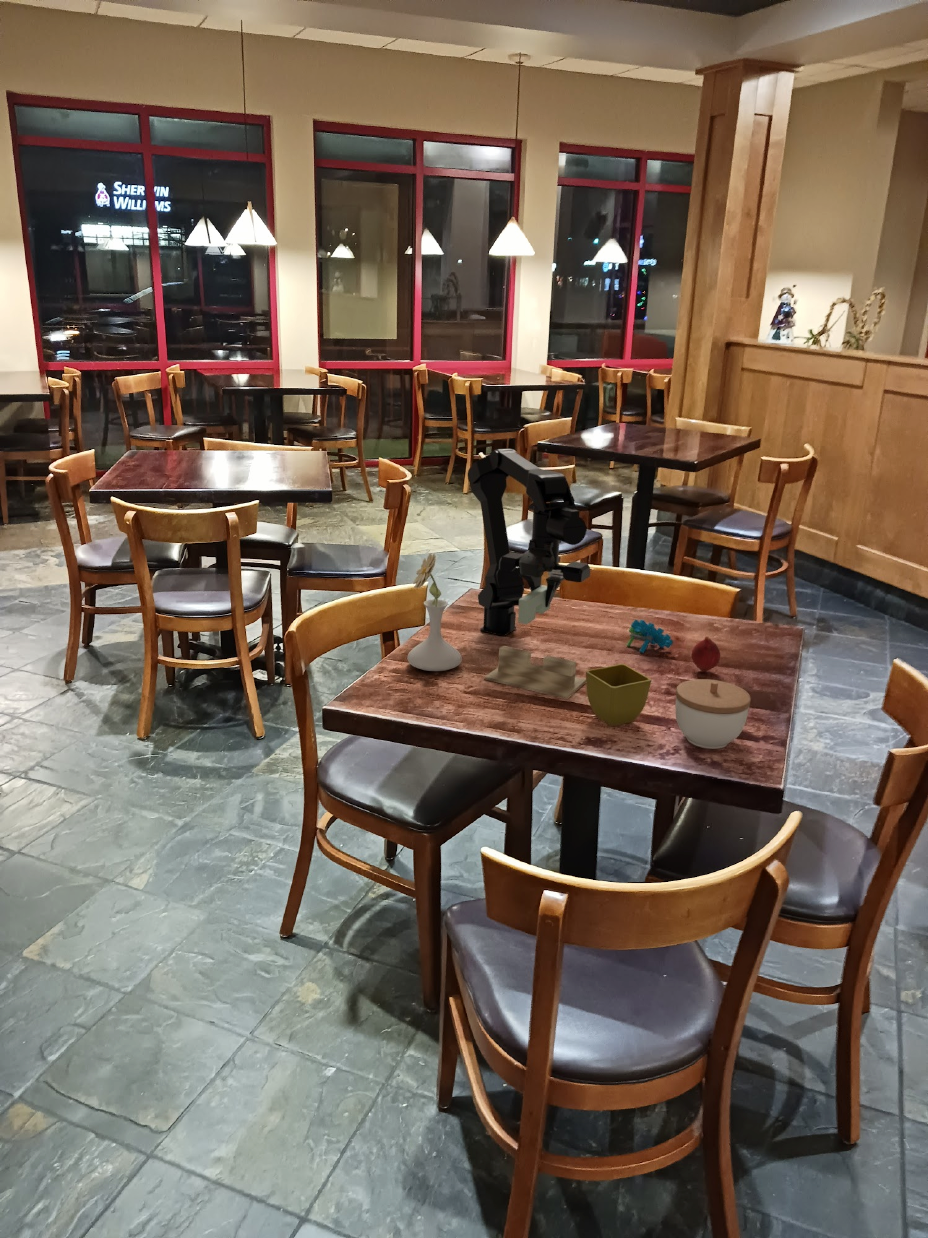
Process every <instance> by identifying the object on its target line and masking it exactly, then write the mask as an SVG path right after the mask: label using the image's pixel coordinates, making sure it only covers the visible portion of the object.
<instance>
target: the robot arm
mask: <svg viewBox="0 0 928 1238" xmlns="http://www.w3.org/2000/svg"><path fill="white" fill-rule="evenodd" d="M509 477H511V478H513V479H514V480H515V481H517V482H518V483H520V484H521V485H523V487H524V488H525V494H526V495H527V496H528V497H529V498H530V499H531V501H532V502H531V503H530V504H529V505H528V509H529V510H531V511H532V528H531V529H532V532H531V539H529V542H528V548H527V550H526V551H525V552H523V553H519V552H518V553H516V552H512V551H511V550H510V545H509V538H508V531H507V523H506V518H505V511H504V505H503V496H504V495H505V492H506V489H507V488H508V487H507V484H508V483H507V479H509ZM467 480H468V482H469V486H470V490H471V492H472V494H473V495H474V496H475V497H476V499H477V500H478V502H480V503H479V504H480V507H481V514H482V520H483V527H484V533H485V541H486V546H487V554H488V561H489V567H488V568H487V572H486V574H485V576H484V581H485V582H484V584H485V586H484V587H483V588H482V589H481V591H480V592H479V593H478V594H477V600H478V604H479V605H480V606H481V607H483V626H482V627H481V628H479V631H480V632H484V633H488V634H493V635H498V636H502V637H505V636H507V635H509V634H510V633H512V632H513V631H514V630H516V629H517V626H516V617H517V613H516V612H515V606H518V607H519V599H521V598H522V597H524V592H525V582H524V580H525V581H526V582H527V584H528V586H529V590H530V592H532V591H534V590H535V589H537V588H538V587H540V586H542V577H543V575H544V573H545V572H546V573H547V572H548V573H550V576H548V577H547V578H545V581H546V586H547V592H546V600H545V606H546V607H549V605H550V606H551V603H552V601H553V598H554V596H555V595H556V592H557V590H558V589H559V587H560V585H561V583H562V582H563V581H564V580H565V581H567V582H573V583H574V582H575V583H582V582H583V581H586V579H588V578H590V577H591V567H590V565H589V564H588V563H586V562H585V563H584V562H577V561H571V562H569V563H568V564H561V563H560V562H561V556H559V555H560V554H559V553H560V545H561V544H562V542H563V543H565V544H568V545H570V546H576V545H579V544H580V543H581V542H582V541H583V540H584V539H585V537H586V535H587V532H588V531H587V530H588V529H587V528H588V527H587V525H586V522H585V520H584V519H583V518H582V517H580V510H577V509H576V508H577V506H576V504H575V502H576V500H575V498H574V496H573V494H572V491H571V488H570V485H569V481H568V480H567V478H566V476H565V475H564V474H563V473H562V472H558V471H554V470H547V469H542V468H540V467H538V466H537V465H535V464H533V463H532V462H530V461H529V460H527V459H526V458H524V457H523V456H522V455H520V454H518V452H517V451H516V450H515V449H513V448H496V449H494V450H493V451H491V452H490V453H489V454H488V455H486V456H484V457H482V458H481V459H478V460H476V461H475V462H473V463H472V465H471V466H470V468H469V469H468V470H467ZM559 563H560V564H559Z"/></svg>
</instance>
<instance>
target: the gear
mask: <svg viewBox="0 0 928 1238" xmlns="http://www.w3.org/2000/svg"><path fill="white" fill-rule="evenodd" d="M628 632H629V633H630V635H629V637H630V639H629V640H628V642H627V644H626V647H629V648H630V647H631V645H632V643H633V641H634V640H636V641H641V642H643V644H642V645H641V647H640V648H639V653H641V654H644V653H645V651H646V649H647V647H648V646H649V644H651V645H655V646H656V645H658V646H657V647H659V648H667V649H670V648H671V646H673V644H674V641H673V639H671V638H672V637H671V636H670V634H667V633H665V635H664V634H663V633H664V629H663V628H661V627H658V628H657V629H656V627H655V624H654V623H652V622H648V623H647V622H646V621H645V620H643V619H640V620H638V619H634V621H633V622H631V625H630V628H629V629H628Z"/></svg>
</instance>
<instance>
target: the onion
mask: <svg viewBox="0 0 928 1238" xmlns="http://www.w3.org/2000/svg"><path fill="white" fill-rule="evenodd" d="M690 655H691V659H692V662H693V664H694V665H695V667H697V668H698V669H699V670H700V671H701V672H702V673H704V672H705V673H706V672H707V671H710V670H712V669H714V668H715V667H717V666H718V664H719V663H720V659H721V652H720V648H719V647H718V645H717V643H716V642H714V641H713V640H712V639H711V637H710V636H709V635H707V634H706V635H705V637H704V639H703V640H700V641H699V642H697V643H696V644H695V645H694V647H693V649H692V650H691V653H690Z"/></svg>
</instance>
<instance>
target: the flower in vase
mask: <svg viewBox="0 0 928 1238" xmlns="http://www.w3.org/2000/svg"><path fill="white" fill-rule="evenodd" d="M436 558H437V557H436V554H435V553H433V554H432V553H431V552H429V554H428V556H427V557H426V558H425V557H424V558H423V560H422V564H421V566H420V567H421V568H419V569H417V571H416V572H415V573H416V575H417V576H416V577H415V579H414V580H413V581H412V583H413V585H414V589H418V588H419V589H420V588H421V587H423V586H424V584H425V583H426V582H427V581H428V579H429V578H431V580H432V584H431V586H430V587H429V593H430V595H431V596H432V597H433V598H432V599H428V600H425V601H423V606H425V608H426V609H427V612H428V616H429V617H428V618H429V633H428V636H427V637H426V638H425V639H424V640H423V641H422V642H420V643H419V644H417V645H416V646H415V647H413V648H412V649H411V650H410V651H409V652H408V654H407V657H406V658H407V661H408V663H409V664H410V665H411V666H412V667H414V668H417V669H420V670H423V671H428V672H443V671H448V670H451V669H455V668H457V667H458V666H460V664H461V662H462V661H463V658H462V656H461V655H462V654H461V653H460V652H459V650H457V648H455V647H454V646H453V645H451V644H450V643H449V642H448V641H446V640H445V639H444V638H443V636H442V632H441V631H442V630H441V629H442V627H441V625H442V619H443V614H444V611H445V609H446V608H447V607H448V605H449V602H447V600H443V599H439V598H440V597H441V596H442V591H440V590H441V589H439V587H438V585H437V583H436V580H435V578H434V577H433V574H432V572H433V570H434V567H435V566H436V561H437V559H436Z"/></svg>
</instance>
